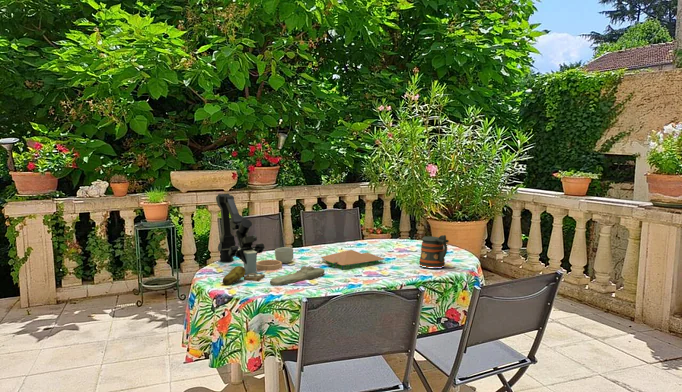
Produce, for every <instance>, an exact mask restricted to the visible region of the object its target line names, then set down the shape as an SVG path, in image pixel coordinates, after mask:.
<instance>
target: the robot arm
mask: <svg viewBox="0 0 682 392" xmlns="http://www.w3.org/2000/svg"><path fill="white" fill-rule="evenodd" d="M215 202H216V204H217V206H218V208H219V209H220V218H221V233H222V234H221V236H220V237H219V243H218V246H217V251H218V252H219V255H220V257H219V260H218V262H220V263H221V262H222V263H231V262H233V261H235V259H234V257H235V258H238V259H240V260H241V261H242V263H243V264H244V263H245V264H247V262H246V259H245V256H244V252H243V251H247V250H254V251H256V252H257V253H256V261H257V259H258V254H262V253H263V252H264V249H265V247H266V246H265V244H264V243H256V244H255V246H253V243H254V242H257V240H258V237H257V235H256V234H252V235H251V236H250V235H248V233H249V232H250V229H251V228H252V225H253V222H252V221H251V220H249V219H248V218H247V217H243V216H242V215H241V214H240V213H239V210H238V208H237V207H238V206H237V205H236V201H235V197H234V196H233V195H230V193H218V194H217V195H216V196H215ZM231 230H234V231H235V236H234V235H233V234H232V232H231ZM235 237H236V239H237V242H238V243H236V240H235ZM236 244H237V245H236Z"/></svg>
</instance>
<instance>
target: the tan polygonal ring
mask: <svg viewBox="0 0 682 392" xmlns="http://www.w3.org/2000/svg"><path fill="white" fill-rule="evenodd" d="M282 268H283V263H282V262H281V261H278V260H276V259H263V260H262V259H261V260H258V261H256V270H260V271H275V270H280V269H282Z"/></svg>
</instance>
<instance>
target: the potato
mask: <svg viewBox="0 0 682 392" xmlns="http://www.w3.org/2000/svg"><path fill="white" fill-rule="evenodd" d="M245 271H246V270H245V268H244V266H242V265H238V266H235V267H234V268H232V269H231V270H230V271H229V272H228V273H227V274H226V275H225V276H224V277H223V278H222V284H224V285H225V286H228V285H231V284H235V283H237V282H238V281H239V280H241V279H242V278H244V277H245V276H246V274H245Z"/></svg>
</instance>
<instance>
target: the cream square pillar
mask: <svg viewBox="0 0 682 392" xmlns="http://www.w3.org/2000/svg"><path fill="white" fill-rule="evenodd" d="M243 253H244V256H245V259H246V262H247V264H245V263H244V262H243V268H245V270H246V271H245V276H247V275H248V274H250V273H253V274H257V268H256V262H257V260H256V253H257V252H256V251H254V250H247V251H243ZM257 254H258V253H257Z"/></svg>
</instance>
